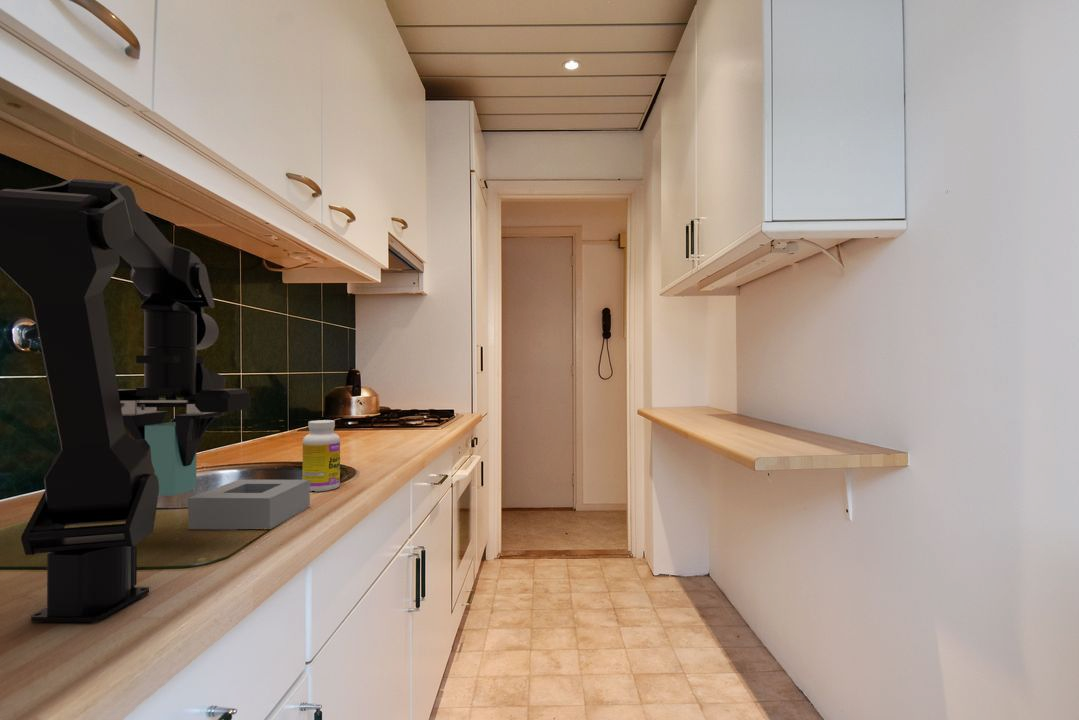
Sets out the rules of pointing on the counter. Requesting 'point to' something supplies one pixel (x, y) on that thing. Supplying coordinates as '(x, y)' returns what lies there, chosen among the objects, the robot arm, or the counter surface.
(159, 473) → the teal block
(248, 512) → the well block
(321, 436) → the supplement bottle
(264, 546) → the counter surface
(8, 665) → the counter surface
